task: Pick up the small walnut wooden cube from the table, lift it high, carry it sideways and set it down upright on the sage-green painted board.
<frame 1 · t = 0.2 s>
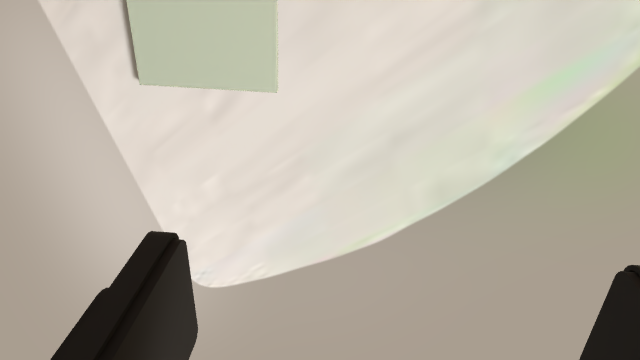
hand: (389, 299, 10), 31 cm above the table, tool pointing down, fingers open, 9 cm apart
sage board: (203, 1, 37), on the table
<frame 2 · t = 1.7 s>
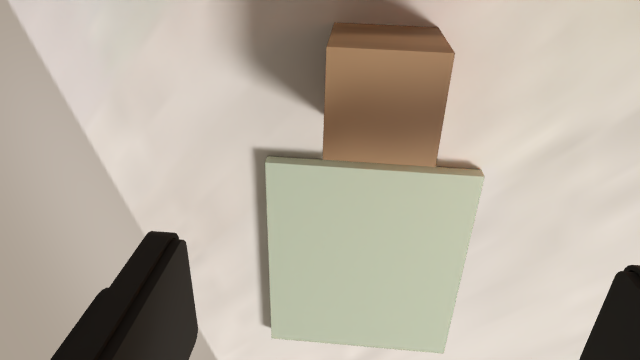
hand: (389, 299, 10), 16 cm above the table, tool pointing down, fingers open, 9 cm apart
sage board: (363, 260, 29), on the table
walnut cube: (381, 75, 24), on the table
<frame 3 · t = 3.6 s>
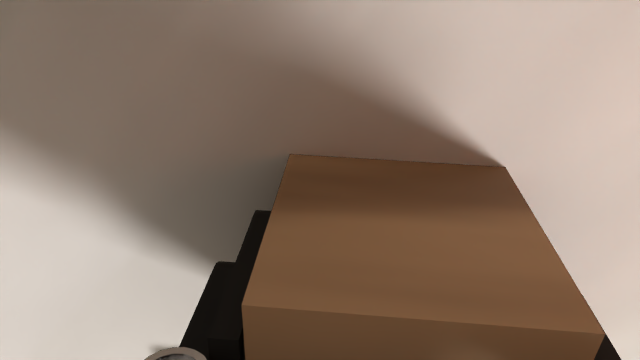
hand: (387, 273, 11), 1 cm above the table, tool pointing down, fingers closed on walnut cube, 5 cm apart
walnut cube: (385, 247, 12), on the table, touching gripper
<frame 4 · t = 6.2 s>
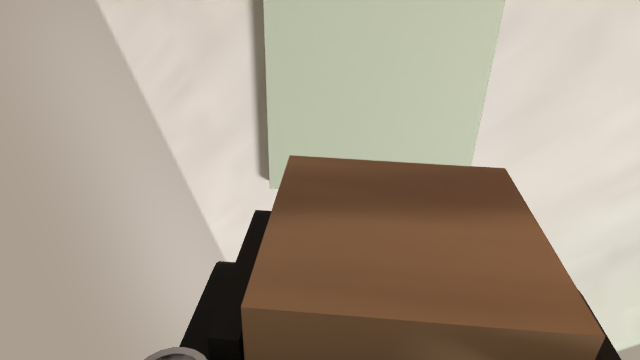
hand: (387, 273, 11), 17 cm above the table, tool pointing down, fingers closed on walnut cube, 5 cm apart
sage board: (374, 79, 26), on the table
walnut cube: (385, 248, 12), point 16 cm above the table, touching gripper
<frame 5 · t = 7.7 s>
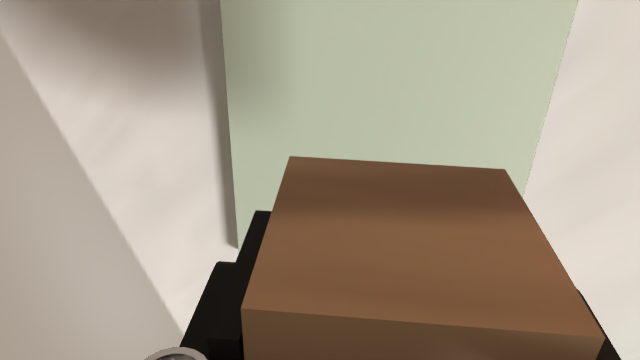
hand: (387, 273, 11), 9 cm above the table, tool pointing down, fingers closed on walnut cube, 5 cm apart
sage board: (380, 124, 19), on the table
walnut cube: (385, 248, 12), point 8 cm above the table, touching gripper
when the fingers open (3 cm above the table, at t = 9.1 s): walnut cube drops 2 cm, resting on sage board.
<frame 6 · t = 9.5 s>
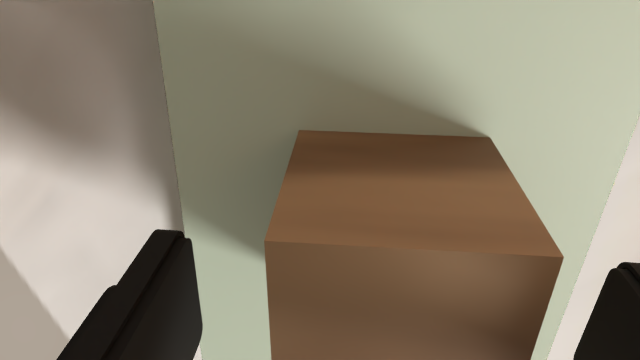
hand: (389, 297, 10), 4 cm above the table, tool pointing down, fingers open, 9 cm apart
sage board: (381, 200, 14), on the table
walnut cube: (386, 213, 13), point 1 cm above the table, touching sage board
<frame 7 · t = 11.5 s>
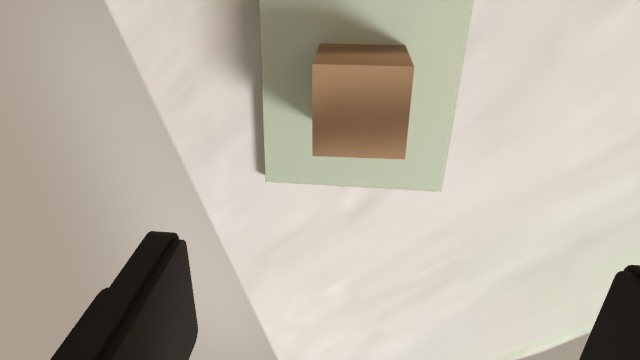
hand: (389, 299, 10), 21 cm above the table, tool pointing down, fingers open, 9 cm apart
sage board: (359, 82, 29), on the table
walnut cube: (360, 86, 28), point 1 cm above the table, touching sage board
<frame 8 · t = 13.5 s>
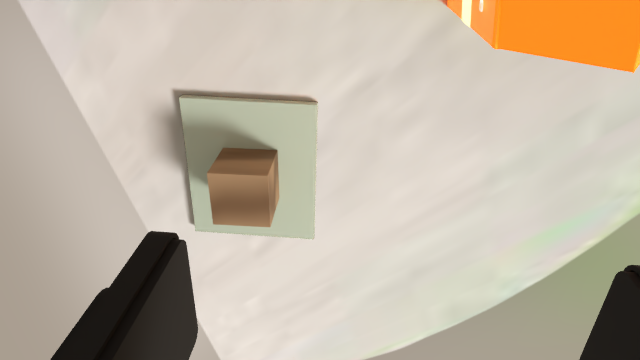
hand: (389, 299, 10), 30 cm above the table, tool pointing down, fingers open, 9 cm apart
sage board: (252, 169, 44), on the table
walnut cube: (251, 173, 43), point 1 cm above the table, touching sage board
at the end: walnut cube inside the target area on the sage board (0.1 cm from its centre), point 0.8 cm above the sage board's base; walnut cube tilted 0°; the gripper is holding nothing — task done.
